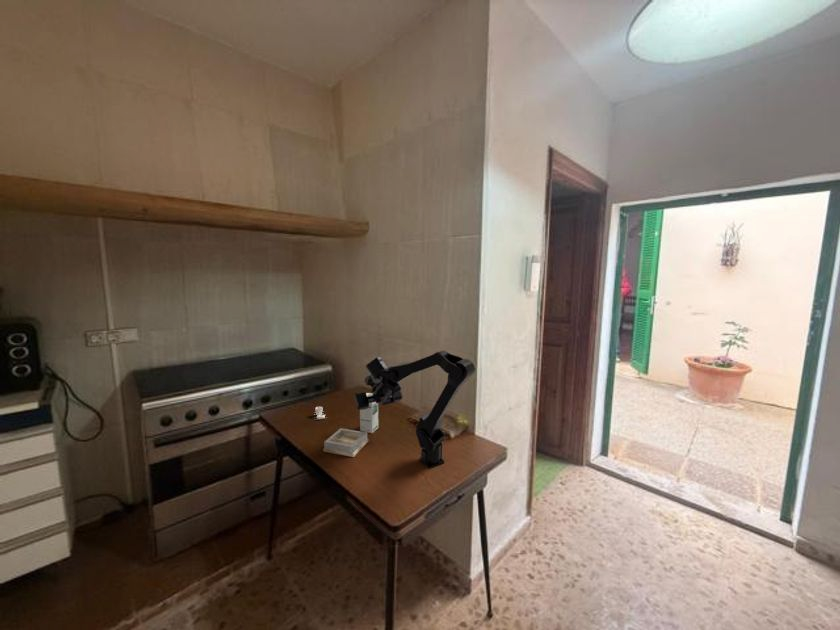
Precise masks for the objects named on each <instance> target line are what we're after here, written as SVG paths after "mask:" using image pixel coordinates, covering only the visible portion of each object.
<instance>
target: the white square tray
mask: <svg viewBox="0 0 840 630" xmlns="http://www.w3.org/2000/svg"><path fill="white" fill-rule="evenodd" d="M368 442H369V438H368V432H363V431H360V430H354V429H349V428H343V427H342V428H341V427H340V428H339V429H338V430H336V431H335V432H334V433H333V434H332V435H330V436H329V437H328V438H327V439H326V440H324V443H323V445H324V448H323V450H322V451H323V452H326V453H331V454H335V455H340V456H345V457H353V458H354V457H355V456H356V455H357V454H358V453H359V452H360V451H361V450H362V448H364V446H365V445H366V444H367V443H368Z"/></svg>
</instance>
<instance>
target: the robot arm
mask: <svg viewBox="0 0 840 630" xmlns="http://www.w3.org/2000/svg"><path fill="white" fill-rule="evenodd" d="M434 366H439V367H440V368H441V370H442V371H444V372H445V373H446V374H448V375H447V381H446V384H445V386H444V388H443V389H442V392H440V393H441V394H440V395H439V397H438V398H437V401H436V402H435V404H434V406H433V407H432V409H431V411H429V412H427V413H425V414H424V415H422V416H421V417H420V418H419V420H418V423H417V424H416V425H415V426H414V427H415V434H416V437H417V440H418V443H419V444H418V445H419V447H420V448H421V451H420V457H419V460H420V461H421V462H422V463H423V464H424V465H426V466H427V468H429V469H431V468H434V467H437V466H439V465H441V464H445V460H444V459H443V443H442V442H444V441H445V439H446V435H445V433H444V432H443V430H442V429H441V426H442V419H443V417H444V415H445V414H446V412H447V411H448V409H449V407H450V405H451V404H452V402H453V400H454V398H455V397H456V395H457V394H458V392H459V390H460V388H461V387H462V386H463V385H465V383H466V382H467V381H468V380H469V379H470V378H471V377H472V375H474V373H475V371H476V367H475V364H474V363H473V361H472V360H470V359H468V358H462V357H461V356H458V355H456V354H452V353H449V352H447V351H446V350H440V351H436V352H435V353H433V354H431V355H428V356H426V357H423V358H420V359H418V360H414V361H411V362H402V363H399V364H396V365H391V366H387V365H386V363H385V362H384V360H383V359H382V357H381V356H377V357H375V358H374V359H373V360H371V361H370V362H368V363H367V364H366V365H365V368H366V370H367V371H368V372H369V375H367V376H366V377H365V378H364V383H365V385H366V386H370V387H371V388H370V393H373V394H372V396H369V397H367V395H366V393H367V392H366V391H365V390H363V391H359V392H355V393H354V395H353V399H354V402H355V407H356V410H359V411H360V410H364V409H368V407H369V403H373V402H376V404H377V403H379V404H380V403H381V405H382V406H386V405H390V404H394V403H398V402H401V401H402V400H403V394H402V391H401V390H402V387H401V386H400V384H399V382H402V381H403V380H406V379H408V378H409V377H411V376H413V375H414V374H415V373H417V372H421V371H424V370H426V369H428V368H431V367H434Z"/></svg>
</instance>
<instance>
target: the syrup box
mask: <svg viewBox="0 0 840 630" xmlns="http://www.w3.org/2000/svg"><path fill="white" fill-rule="evenodd" d="M372 394H373V392H366V395H367V397H369V396H372ZM379 404H380V403H377V404H376V402H373V403H369V407H368V409H364V410H359V425H360V427H359V428H360V429H359V431H361V432H367V434H373V433H374V432H375V431H376V430H377V429H379V427H380V425H379V424H380V423H379V422H380V421H379V420H380V415H379V413H380V412H379V411H380V410H379V408H380V407H379V406H380V405H379Z"/></svg>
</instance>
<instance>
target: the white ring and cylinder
mask: <svg viewBox="0 0 840 630" xmlns="http://www.w3.org/2000/svg"><path fill="white" fill-rule="evenodd" d="M323 410H324V408H323V406H316V407H315V413H316V414H315V415H317V416H316V417H315V418H317V419H316V420H323V419H326V418H325V416H326V414H323V413H322V412H324V411H323Z"/></svg>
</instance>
